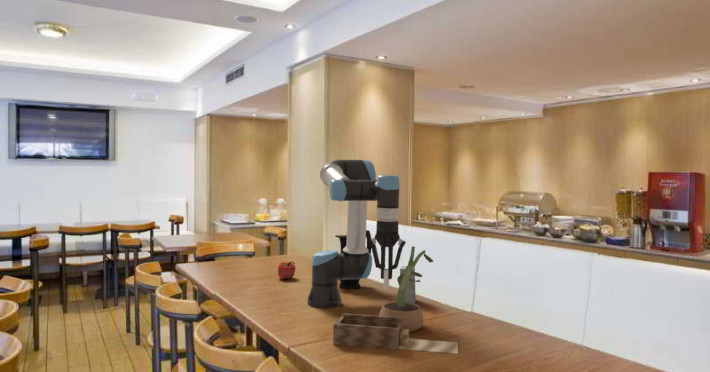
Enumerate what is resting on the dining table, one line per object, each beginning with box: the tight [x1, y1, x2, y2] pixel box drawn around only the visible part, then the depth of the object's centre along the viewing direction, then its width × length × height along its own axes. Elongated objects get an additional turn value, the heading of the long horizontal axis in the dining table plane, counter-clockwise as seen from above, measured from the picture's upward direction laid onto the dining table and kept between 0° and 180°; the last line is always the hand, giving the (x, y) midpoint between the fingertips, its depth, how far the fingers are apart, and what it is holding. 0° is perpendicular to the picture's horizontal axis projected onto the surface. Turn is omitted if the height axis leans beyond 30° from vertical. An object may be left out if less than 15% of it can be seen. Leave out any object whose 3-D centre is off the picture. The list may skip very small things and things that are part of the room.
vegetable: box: [277, 261, 296, 280], centre depth 266 cm, size 11×10×10 cm
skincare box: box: [399, 265, 417, 304], centre depth 220 cm, size 8×7×16 cm
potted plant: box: [378, 245, 434, 333], centre depth 184 cm, size 22×18×30 cm
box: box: [332, 313, 403, 351], centre depth 166 cm, size 22×13×7 cm, turn 78°
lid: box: [398, 329, 459, 355], centre depth 162 cm, size 19×10×5 cm, turn 78°
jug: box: [335, 229, 372, 290], centre depth 247 cm, size 21×18×30 cm
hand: (386, 288), depth 165 cm, fingers closed
